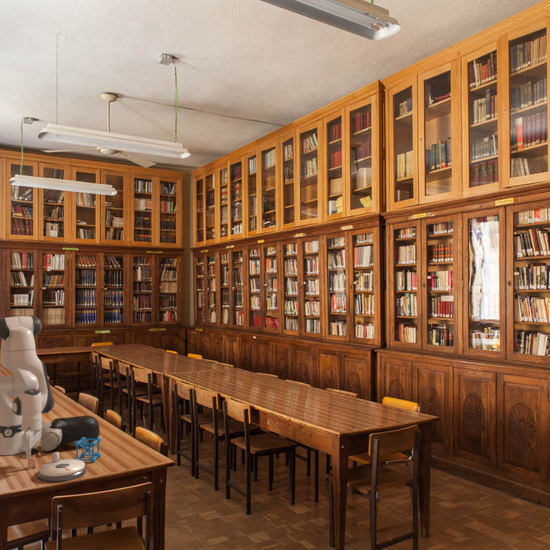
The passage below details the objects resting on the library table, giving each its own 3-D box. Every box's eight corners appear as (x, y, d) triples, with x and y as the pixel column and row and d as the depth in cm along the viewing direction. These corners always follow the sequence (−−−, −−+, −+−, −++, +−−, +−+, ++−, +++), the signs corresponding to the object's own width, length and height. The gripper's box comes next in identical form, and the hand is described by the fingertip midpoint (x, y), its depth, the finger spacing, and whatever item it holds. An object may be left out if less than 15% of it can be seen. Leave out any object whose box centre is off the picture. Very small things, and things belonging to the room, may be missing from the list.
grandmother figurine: (37, 465, 249) (37, 438, 250) (41, 467, 247) (41, 440, 247) (21, 469, 243) (21, 442, 244) (24, 471, 241) (25, 443, 241)
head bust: (43, 461, 262) (104, 445, 277) (39, 427, 261) (101, 413, 276) (39, 450, 280) (96, 436, 295) (35, 418, 280) (93, 406, 295)
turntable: (33, 468, 238) (33, 456, 238) (75, 459, 251) (75, 448, 251) (48, 480, 224) (48, 467, 224) (91, 469, 237) (91, 457, 237)
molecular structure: (101, 456, 262) (101, 436, 263) (94, 463, 252) (94, 442, 253) (81, 456, 262) (81, 436, 263) (73, 463, 252) (74, 442, 253)
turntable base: (44, 468, 245) (44, 463, 245) (89, 465, 249) (89, 461, 249) (32, 483, 226) (32, 479, 226) (81, 480, 229) (81, 476, 229)
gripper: (33, 430, 236) (32, 461, 235) (44, 419, 256) (44, 448, 255) (17, 431, 235) (17, 462, 234) (30, 420, 255) (30, 449, 254)
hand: (31, 455), depth 245 cm, fingers open, 8 cm apart
